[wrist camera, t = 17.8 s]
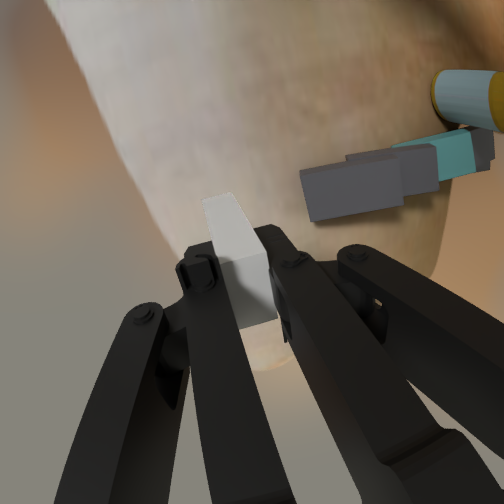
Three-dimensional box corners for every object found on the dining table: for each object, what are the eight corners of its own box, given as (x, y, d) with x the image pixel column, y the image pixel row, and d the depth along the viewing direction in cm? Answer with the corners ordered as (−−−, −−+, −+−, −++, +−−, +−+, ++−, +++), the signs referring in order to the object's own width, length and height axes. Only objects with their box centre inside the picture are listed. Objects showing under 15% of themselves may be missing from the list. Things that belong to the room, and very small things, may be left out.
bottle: (456, 69, 29) (548, 76, 16) (464, 118, 32) (553, 138, 19) (423, 70, 29) (524, 74, 15) (432, 124, 32) (530, 147, 19)
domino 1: (310, 222, 32) (403, 205, 29) (299, 176, 29) (398, 158, 27) (309, 214, 33) (398, 197, 31) (299, 170, 31) (393, 153, 28)
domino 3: (404, 190, 32) (476, 172, 29) (395, 150, 30) (470, 132, 27) (400, 184, 34) (469, 166, 31) (390, 145, 32) (462, 128, 29)
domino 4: (454, 175, 32) (494, 158, 32) (450, 136, 29) (492, 124, 30) (443, 171, 34) (484, 155, 34) (439, 134, 31) (482, 122, 32)
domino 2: (355, 204, 32) (439, 190, 30) (348, 159, 30) (436, 146, 27) (352, 197, 34) (432, 184, 31) (345, 155, 31) (429, 142, 29)
